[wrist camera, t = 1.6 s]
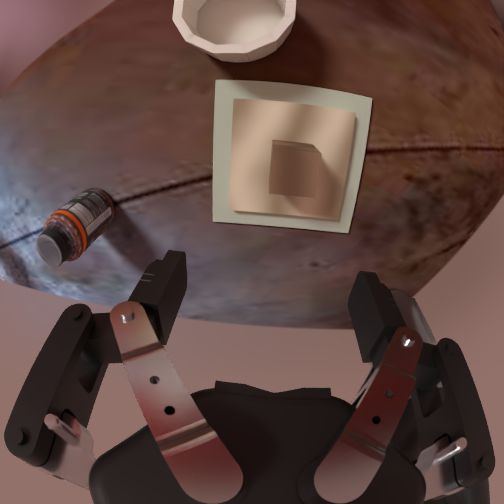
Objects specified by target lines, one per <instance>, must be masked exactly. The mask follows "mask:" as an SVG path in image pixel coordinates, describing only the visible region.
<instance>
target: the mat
mask: <svg viewBox="0 0 504 504" xmlns="http://www.w3.org/2000/svg"><path fill="white" fill-rule="evenodd" d="M233 98H236V99H258V100H272V101H283V102H292V103H301V104H308V105H315V106H322V107H328V108H334V109H339V110H345V111H350V112H355V121H354V129H353V136H352V143H351V150H350V156H349V162H348V168H347V174H346V180H345V185H344V191H343V196H342V201H341V206H340V211H339V216H338V220H334V219H325V218H315V217H305V216H295V215H284V214H273V213H261V212H248V211H234V210H229V198H230V166H231V140H232V117H233ZM371 106H372V98H368V97H364V96H360V95H356V94H351V93H346V92H341V91H336V90H331V89H325V88H319V87H312V86H305V85H297V84H289V83H278V82H266V81H248V80H216V86H215V109H214V141H213V222H227V223H241V224H254V225H266V226H278V227H290V228H301V229H311V230H322V231H332V232H341V233H348V232H349V228H350V224H351V219H352V215H353V211H354V206H355V202H356V197H357V192H358V187H359V182H360V177H361V172H362V166H363V161H364V155H365V149H366V143H367V136H368V129H369V122H370V114H371Z"/></svg>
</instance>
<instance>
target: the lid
mask: <svg viewBox="0 0 504 504" xmlns="http://www.w3.org/2000/svg"><path fill="white" fill-rule="evenodd" d="M354 121H355V112H350V111H345V110H339V109H334V108H328V107H322V106H315V105H308V104H301V103H292V102H283V101H272V100H258V99H236V98H233V117H232V140H231V166H230V198H229V210H234V211H248V212H261V213H273V214H284V215H295V216H305V217H315V218H325V219H334V220H338V216H339V211H340V206H341V201H342V196H343V191H344V185H345V180H346V174H347V168H348V162H349V156H350V150H351V143H352V136H353V129H354Z"/></svg>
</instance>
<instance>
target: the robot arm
mask: <svg viewBox="0 0 504 504" xmlns="http://www.w3.org/2000/svg"><path fill="white" fill-rule="evenodd" d="M186 288H187V268H186V254H185V252H182V251H173V250H168V252H167V253H166V255H165V257H164V258H163V260H155V261H154V262H153V263H151V264H150V265H149V266H148V267H147V269H146V271H145V272H144V274H143V276H142V277H141V280H139V282H138V284H137V286H136V287H135V289H134V291H133V292H132V294H131V296H130V297H129V299H128V301H125V302H122V303H119V304H117V305H116V306H115V307H114V308H113V309H112V311H111V312H110V313H96V314H92V312H91V309H90V308H89V307H88V306H87V305H85V304H74V305H71V306H69V307H68V308H67V309H65V311H64V312H63V313H62V315H61V316H60V318H59V320H58V321H57V323H56V325H55V326H54V328H53V330H52V331H51V333H50V335H49V337H48V338H47V340H46V342H45V344H44V345H43V347H42V349H41V351H40V353H39V355H38V356H37V358H36V360H35V362H34V364H33V366H32V368H31V370H30V372H29V374H28V376H27V378H26V380H25V382H24V385H23V387H22V389H21V391H20V393H19V396H18V398H17V400H16V403H15V405H14V408H13V410H12V413H11V415H10V418H9V420H8V423H7V426H6V429H5V433H4V439H5V443H6V446H7V448H8V449H9V451H10V452H11V453H12V454H13V455H15V456H16V457H18V458H20V459H21V460H23V461H25V462H26V463H27V464H29V465H30V466H32V467H34V468H36V469H38V470H40V471H42V472H44V473H46V474H49V475H52V476H54V477H57V478H59V479H65V480H67V481H69V482H71V483H73V484H76V485H78V486H80V487H83V488H85V489H87V490H90V493H91V496H92V499H93V502H94V504H490V497H489V482H488V477H489V476H490V475H491V474H492V472H493V470H494V467H495V456H494V451H493V446H492V441H491V437H490V434H489V429H488V425H487V422H486V418H485V414H484V411H483V408H482V404H481V401H480V398H479V395H478V392H477V389H476V387H475V384H474V381H473V378H472V376H471V373H470V370H469V368H468V366H467V363H466V360H465V358H464V356H463V353H462V351H461V349H460V347H459V345H458V344H457V343H456V342H455V341H453V340H452V339H449V338H443V339H441V340H440V341H439V342H438V344H437V345H436V340H435V338H434V336H433V333H432V331H431V329H430V327H429V325H428V323H427V321H426V319H425V317H424V315H423V313H422V311H421V310H420V307H419V306H418V304H417V302H416V300H415V298H410V297H409V296H408V295H407V294H406V293H404V292H403V291H399V290H389V289H388V288H387V287H386V286H385V285H384V284H382V283H380V281H379V279H378V277H377V275H376V273H375V272H365V271H360V272H359V273H358V275H357V277H356V280H355V283H354V285H353V288H352V291H351V293H350V296H349V300H348V309H349V312H350V316H351V319H352V323H353V326H354V330H355V334H356V338H357V341H358V345H359V349H360V353H361V357H362V361H363V363H369V365H370V369H371V370H370V371H369V373H368V375H367V377H366V378H365V380H364V382H363V384H362V385H361V387H360V389H359V390H358V392H357V393H356V395H355V397H354V398H353V400H352V401H351V403H348V402H346V401H344V400H342V399H340V398H337V397H333V396H331V389H330V388H300V389H295V390H290V391H285V392H279V393H272V392H269V391H265V390H262V389H259V388H255V387H252V386H249V385H246V384H238V383H230V382H222V381H216V383H215V388H211V389H205V390H201V391H198V392H195V393H192V394H189V392H188V390H187V389H186V387H185V385H184V384H183V382H182V380H181V378H180V376H179V374H178V373H177V371H176V369H175V367H174V365H173V363H172V361H171V359H170V358H169V356H168V354H167V352H166V350H165V348H164V346H163V345H166V344H167V341H168V338H169V335H170V333H171V330H172V327H173V324H174V321H175V319H176V316H177V313H178V311H179V308H180V305H181V303H182V300H183V297H184V295H185V292H186ZM109 363H123V365H124V368H125V370H126V373H127V376H128V379H129V381H130V384H131V386H132V389H133V391H134V394H135V396H136V399H137V401H138V403H139V406H140V408H141V410H142V412H143V415H144V417H145V419H146V421H147V425H146V426H144V427H143V428H142V429H140V430H139V431H137V432H136V433H134V434H133V435H131V436H130V437H129V438H127V439H126V440H124V441H123V442H121V443H119V444H118V445H116V446H115V447H113V448H112V449H110V450H109V451H107V452H106V453H104V454H103V455H101V456H100V457H99V458H98V459H97V460H96V459H95V457H94V454H93V438H92V436H91V434H90V432H89V431H88V430H87V429H86V428H87V425H88V422H89V419H90V415H91V412H92V409H93V406H94V403H95V400H96V397H97V394H98V391H99V388H100V386H101V383H102V380H103V377H104V375H105V372H106V369H107V367H108V364H109Z"/></svg>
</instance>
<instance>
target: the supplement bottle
mask: <svg viewBox="0 0 504 504" xmlns="http://www.w3.org/2000/svg"><path fill="white" fill-rule="evenodd" d="M114 215H115V214H114V205H113V202H112V200H111V198H110V197H109V196H108V194H106V193H105V192H104V191H103V190H101V189H97V188H90V189H88V190H86V191H84V192H82V193H81V194H79V195H78V196H76V197H75V198H73V199H72V200H71V201H69V202H68V203H66V204H65V205H64V206H62V207H61V208H59V209H58V210H57V211H56V212H54V213H53V214H52V215H51V216H50V217H49V218H48V219H47V220H46V222H45V225H44V231H43V232H42V234H40V235H39V236H38V238H37V241H36V246H37V250H38V253H39V255H40V256H41V258H42V259H43V260H44V262H46V263H47V264H48V265H50V266H52V267H58V266H60V265H61V264H62V263H63V262H64V261H73V260H76V259H77V258H79V257H80V256H81V255H82V253H83V252H84V251H85V250H86V249H87V248H88V247H89V246H90V245H91V244H92V243H93V242H94V241H95V240H96V239H97V238H98V237H99V236H100V235H101V234H102V232H104V231H105V230H106V229H107V228H108V226H109V225H110V224H111V223H112V221H113V218H114Z"/></svg>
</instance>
